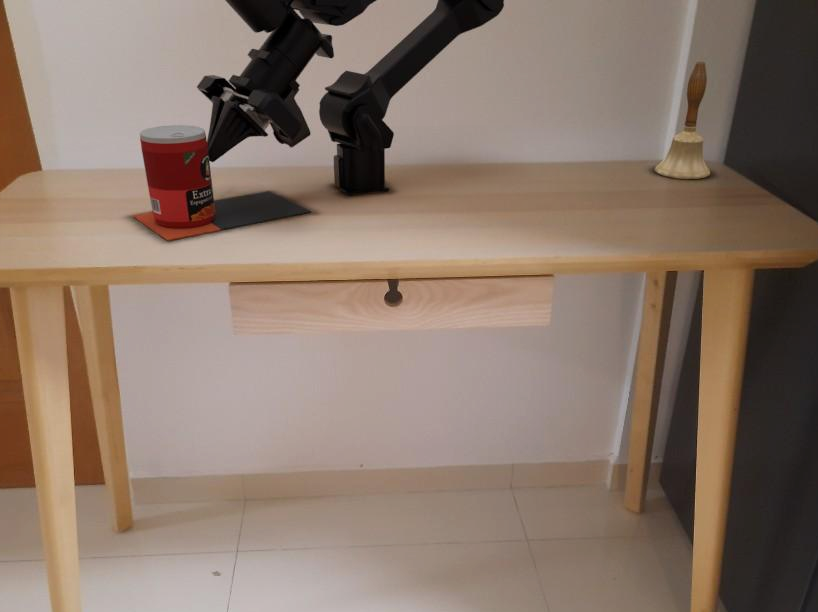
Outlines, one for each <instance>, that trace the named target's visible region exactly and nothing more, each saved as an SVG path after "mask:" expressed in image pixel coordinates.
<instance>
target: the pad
mask: <svg viewBox="0 0 818 612" xmlns="http://www.w3.org/2000/svg"><path fill="white" fill-rule="evenodd" d="M132 217H133V218H134V219H135V220H137V221H138V222H140V224H142V225H144V226H145V227H147V228H148V229H150V230H151V231H152V232H153V233H155V234H157V235H158V236H159V237H161V238H162V239H164V240H165V241H166V242H171V241H175V240H180V239H185V238H186V239H187V238H191V237H196V236H201V235H205V234H210V233H211V234H212V233H215V232H220V231H222V230H221V229H220V228H218V227H217V226H215V225H213V224H212V223H208V224H205V225H202V226H198V227H192V228H169V227H164V226H161V225H159V224H158V223H157V222H156V221H155V219H154V217H153V212H152V211H149V212H143V213H138V214H133V215H132Z"/></svg>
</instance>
